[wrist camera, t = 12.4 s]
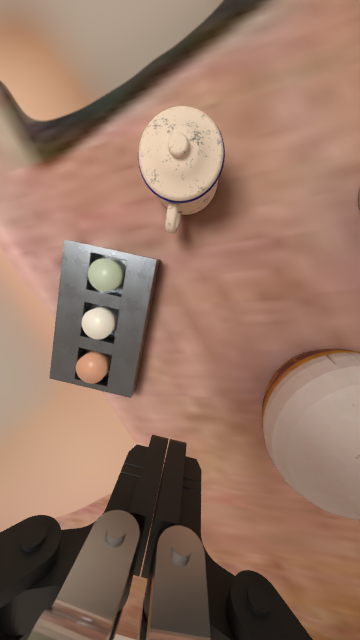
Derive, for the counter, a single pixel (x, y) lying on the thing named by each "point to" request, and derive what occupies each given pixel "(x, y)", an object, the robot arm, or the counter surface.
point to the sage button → (106, 274)
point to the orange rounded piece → (93, 366)
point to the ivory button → (100, 322)
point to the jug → (317, 428)
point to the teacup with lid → (181, 161)
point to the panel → (125, 300)
